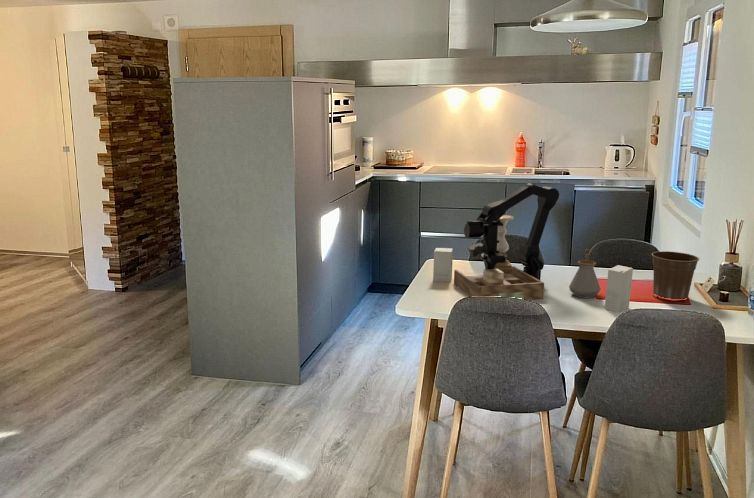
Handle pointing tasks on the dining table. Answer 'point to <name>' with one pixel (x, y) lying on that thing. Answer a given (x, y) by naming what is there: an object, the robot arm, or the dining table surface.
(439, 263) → the supplement box
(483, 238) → the robot arm
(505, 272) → the candle holder
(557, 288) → the dining table surface
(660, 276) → the plant pot
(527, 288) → the box
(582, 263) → the coffee pot
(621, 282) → the skincare box
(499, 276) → the birch block
